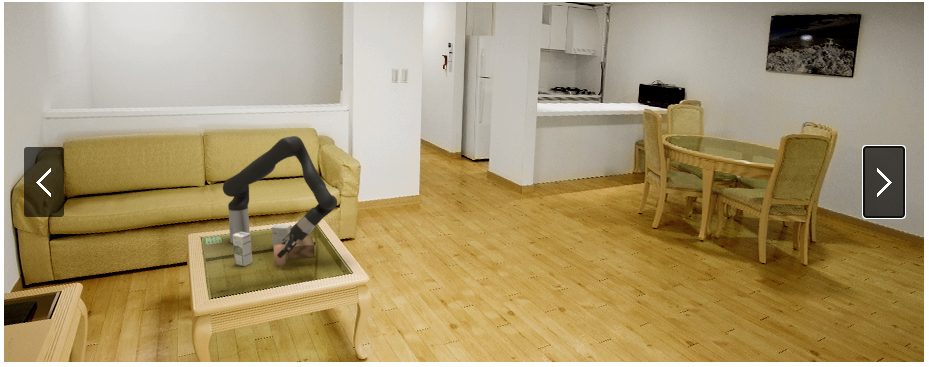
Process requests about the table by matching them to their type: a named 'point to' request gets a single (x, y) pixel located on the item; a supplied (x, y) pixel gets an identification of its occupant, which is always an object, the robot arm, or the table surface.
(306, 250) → the walnut block
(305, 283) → the table surface
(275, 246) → the terracotta cylinder
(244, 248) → the syrup box
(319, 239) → the table surface
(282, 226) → the small box
